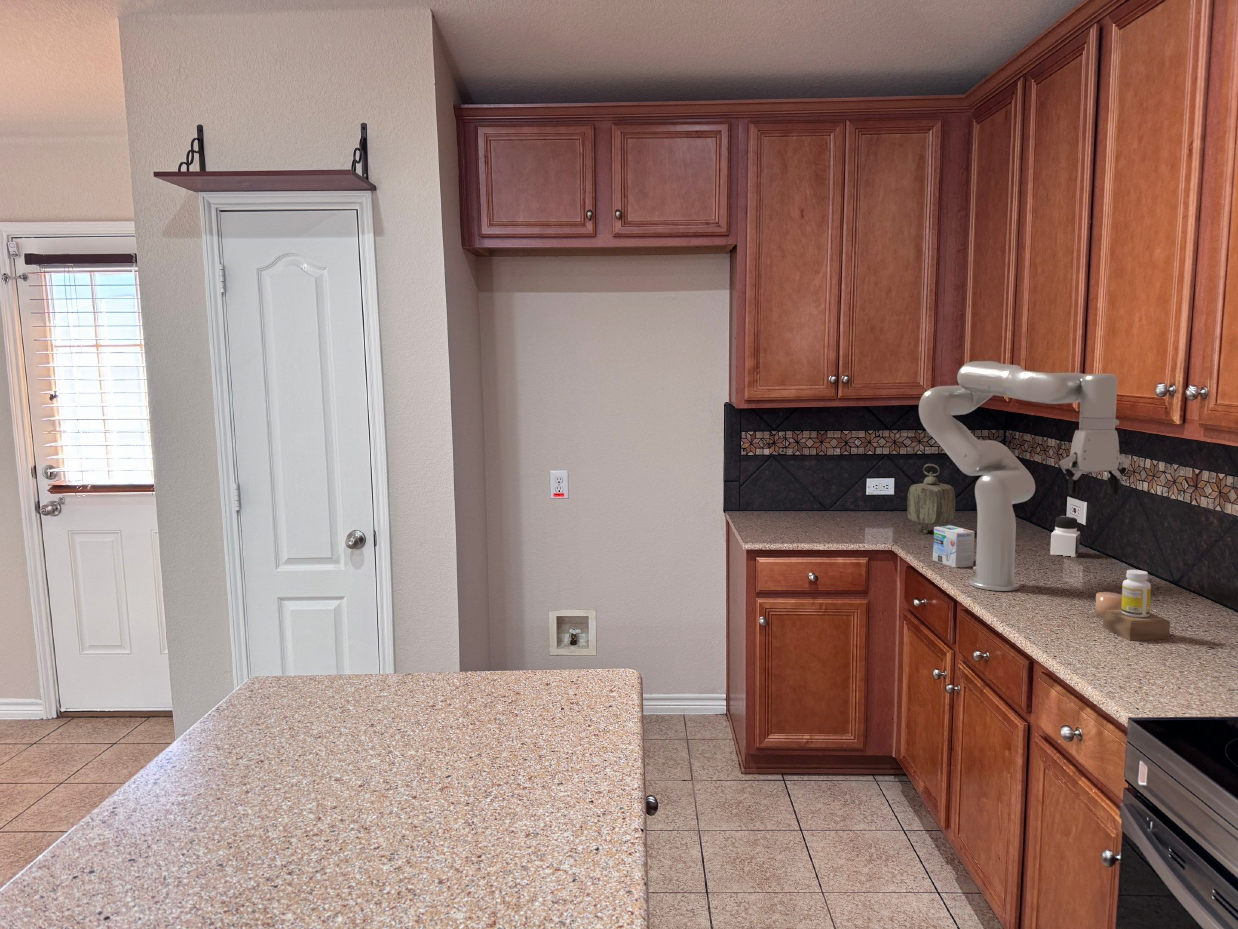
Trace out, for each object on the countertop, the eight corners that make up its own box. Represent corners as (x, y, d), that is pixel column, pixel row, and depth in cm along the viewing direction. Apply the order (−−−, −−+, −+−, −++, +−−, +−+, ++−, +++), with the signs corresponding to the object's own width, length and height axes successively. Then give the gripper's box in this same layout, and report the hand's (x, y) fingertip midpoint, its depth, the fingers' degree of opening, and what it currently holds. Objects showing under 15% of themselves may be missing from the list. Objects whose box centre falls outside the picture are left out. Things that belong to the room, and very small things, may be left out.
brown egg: (1089, 612, 200) (1090, 592, 199) (1113, 611, 200) (1114, 591, 200) (1105, 620, 194) (1106, 599, 193) (1130, 619, 194) (1131, 598, 194)
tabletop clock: (954, 534, 293) (956, 465, 290) (938, 537, 288) (940, 467, 285) (920, 528, 305) (922, 461, 302) (903, 531, 300) (905, 463, 297)
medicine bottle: (1075, 557, 256) (1077, 519, 254) (1050, 555, 260) (1051, 517, 258) (1079, 553, 261) (1081, 516, 260) (1054, 550, 265) (1055, 514, 264)
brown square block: (1102, 627, 188) (1103, 609, 188) (1140, 626, 189) (1141, 608, 188) (1129, 640, 179) (1130, 621, 179) (1168, 639, 180) (1170, 620, 179)
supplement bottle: (1138, 610, 186) (1141, 568, 185) (1155, 617, 181) (1157, 574, 180) (1115, 611, 186) (1117, 569, 185) (1131, 618, 181) (1133, 575, 180)
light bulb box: (931, 560, 255) (932, 526, 254) (950, 558, 257) (951, 524, 256) (955, 568, 245) (957, 532, 244) (974, 566, 247) (975, 531, 246)
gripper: (1120, 423, 203) (1116, 491, 205) (1053, 424, 202) (1049, 493, 204) (1141, 425, 196) (1137, 496, 198) (1072, 426, 194) (1068, 498, 196)
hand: (1093, 494), depth 201 cm, fingers open, 9 cm apart
